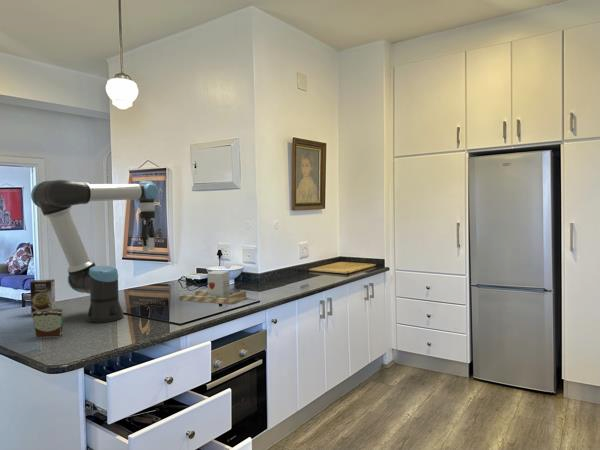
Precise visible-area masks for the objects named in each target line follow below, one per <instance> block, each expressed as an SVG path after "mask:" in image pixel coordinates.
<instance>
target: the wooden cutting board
mask: <svg viewBox="0 0 600 450" xmlns="http://www.w3.org/2000/svg"><path fill="white" fill-rule="evenodd" d="M194 294H195V295H190V294H189V295H188V294H180V295H179V301H185V302H186V301H188V302H198V303H210V304H212V303H213V304H222V305H233V304H235V303H238V302H241V301H243V300H245V299H247V290H240V291H238V292H235V290H234V289H230V295H229V296H227V298H218V297H217V296H208V290H203V289H202V290H200V289H196V290H195V291H194ZM232 303H233V304H232Z"/></svg>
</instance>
